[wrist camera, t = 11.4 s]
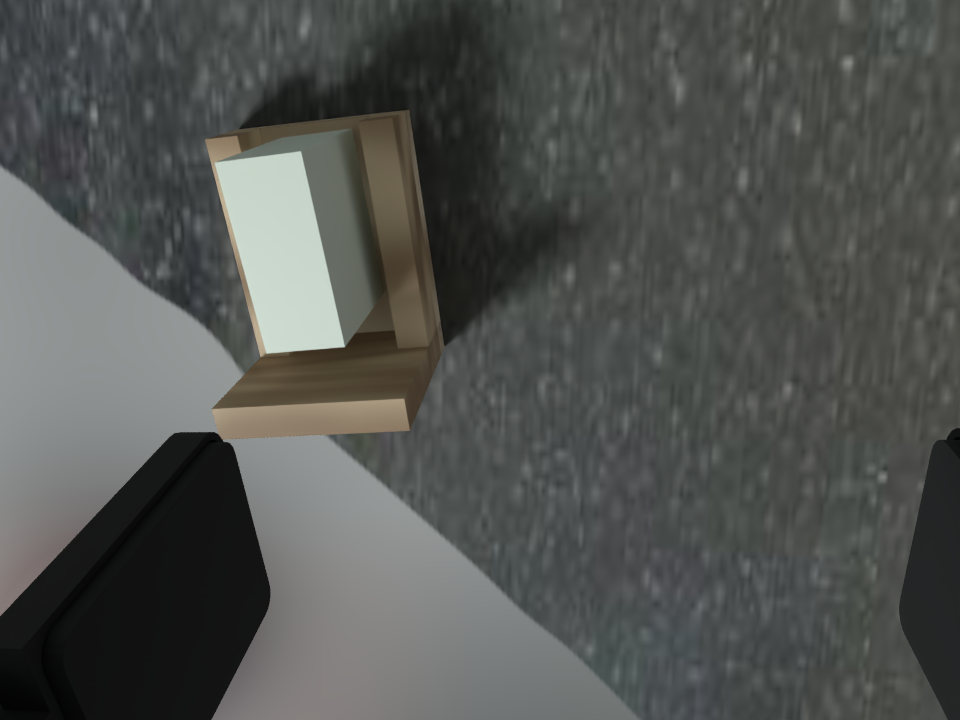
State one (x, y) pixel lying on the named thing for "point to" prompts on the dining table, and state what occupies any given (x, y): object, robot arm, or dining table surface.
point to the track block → (386, 330)
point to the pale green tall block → (303, 238)
